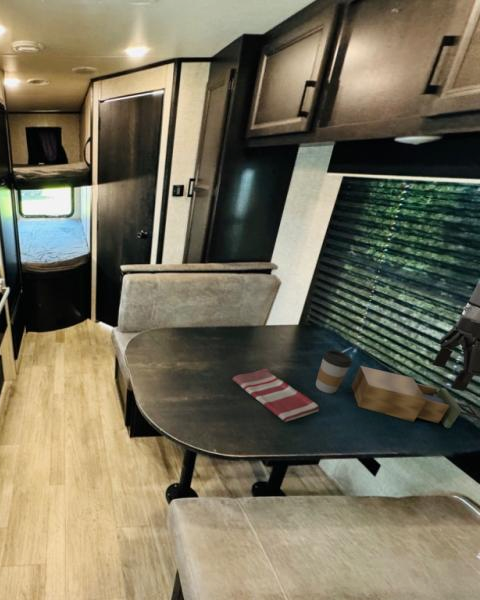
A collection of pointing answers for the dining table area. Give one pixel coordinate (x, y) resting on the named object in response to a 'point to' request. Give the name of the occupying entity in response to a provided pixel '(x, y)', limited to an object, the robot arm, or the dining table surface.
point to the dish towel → (276, 395)
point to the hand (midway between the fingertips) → (447, 377)
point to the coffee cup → (332, 371)
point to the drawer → (442, 407)
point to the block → (434, 398)
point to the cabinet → (388, 393)
